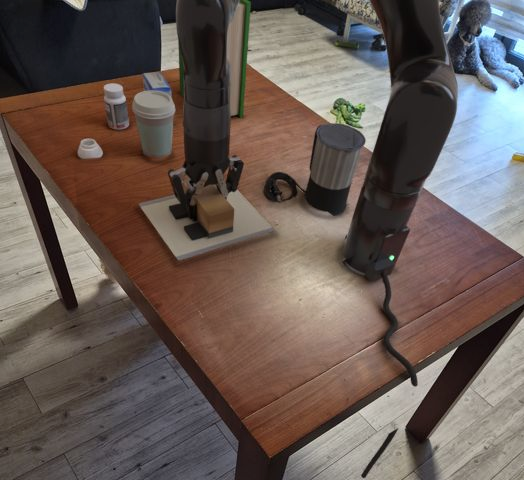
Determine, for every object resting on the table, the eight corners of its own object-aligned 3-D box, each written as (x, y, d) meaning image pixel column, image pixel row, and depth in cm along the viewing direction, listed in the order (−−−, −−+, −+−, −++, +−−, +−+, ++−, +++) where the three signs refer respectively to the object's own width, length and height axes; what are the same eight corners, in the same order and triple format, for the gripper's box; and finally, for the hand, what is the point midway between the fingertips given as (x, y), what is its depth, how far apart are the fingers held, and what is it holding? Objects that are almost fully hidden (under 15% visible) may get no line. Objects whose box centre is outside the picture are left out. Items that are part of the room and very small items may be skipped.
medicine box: (145, 111, 114) (141, 72, 107) (163, 109, 115) (160, 71, 108) (154, 127, 109) (151, 88, 103) (173, 125, 111) (171, 86, 104)
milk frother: (355, 211, 97) (376, 142, 86) (293, 231, 91) (306, 160, 79) (315, 175, 104) (330, 107, 92) (255, 191, 98) (262, 120, 86)
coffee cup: (182, 163, 101) (180, 107, 92) (142, 168, 99) (136, 110, 89) (171, 143, 106) (168, 87, 96) (133, 147, 103) (126, 90, 94)
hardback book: (242, 117, 117) (250, 2, 98) (218, 123, 114) (221, 6, 95) (204, 87, 125) (204, -25, 106) (180, 92, 121) (176, -22, 102)
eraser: (233, 231, 87) (234, 208, 83) (209, 238, 85) (209, 215, 81) (203, 196, 93) (203, 173, 89) (180, 202, 91) (179, 179, 87)
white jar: (80, 163, 98) (105, 160, 99) (77, 149, 95) (102, 147, 97) (76, 150, 100) (100, 148, 102) (73, 137, 98) (98, 135, 99)
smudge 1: (190, 216, 89) (190, 213, 88) (175, 220, 88) (175, 216, 87) (183, 206, 90) (183, 202, 90) (168, 209, 89) (168, 205, 89)
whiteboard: (274, 235, 90) (275, 230, 89) (178, 265, 82) (178, 260, 81) (229, 186, 98) (229, 180, 97) (138, 209, 90) (138, 203, 89)
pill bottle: (131, 121, 110) (127, 84, 103) (126, 131, 107) (121, 93, 100) (111, 118, 110) (105, 80, 103) (105, 128, 107) (99, 90, 100)
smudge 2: (207, 236, 86) (207, 233, 85) (192, 240, 84) (192, 237, 84) (198, 225, 87) (198, 221, 87) (183, 229, 86) (183, 226, 85)
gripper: (175, 147, 71) (180, 236, 84) (256, 130, 76) (249, 217, 90) (155, 123, 74) (163, 213, 88) (234, 109, 80) (230, 195, 93)
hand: (206, 214), depth 89 cm, fingers closed on eraser, 5 cm apart
